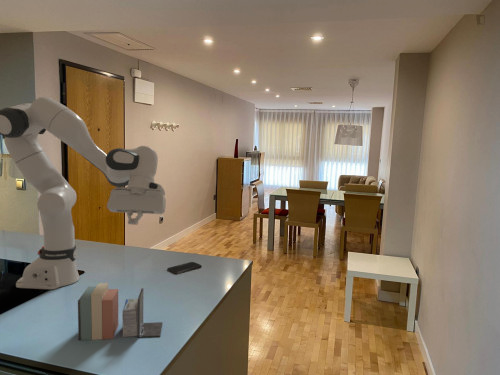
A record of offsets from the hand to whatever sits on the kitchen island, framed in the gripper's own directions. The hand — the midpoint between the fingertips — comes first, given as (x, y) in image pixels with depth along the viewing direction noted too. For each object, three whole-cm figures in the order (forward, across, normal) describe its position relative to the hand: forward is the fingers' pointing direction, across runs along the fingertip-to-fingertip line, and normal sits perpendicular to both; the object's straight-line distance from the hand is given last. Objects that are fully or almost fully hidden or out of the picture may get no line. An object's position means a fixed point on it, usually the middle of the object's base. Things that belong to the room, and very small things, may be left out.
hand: (132, 224), depth 124 cm
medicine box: (+34, +6, +2) cm, 35 cm away
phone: (+5, +8, +50) cm, 51 cm away
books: (+35, -3, -1) cm, 35 cm away
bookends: (+34, +4, +1) cm, 35 cm away
